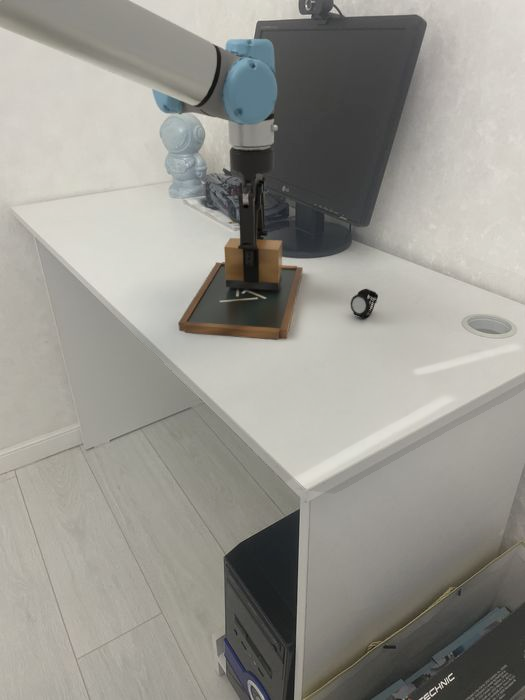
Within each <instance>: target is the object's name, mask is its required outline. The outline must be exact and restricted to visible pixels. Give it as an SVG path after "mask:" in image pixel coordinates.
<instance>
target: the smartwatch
mask: <svg viewBox="0 0 525 700" xmlns="http://www.w3.org/2000/svg"><path fill="white" fill-rule="evenodd" d="M378 298H379V294H378V293H377V292H376V291H374V290H371V289H368V288H363V289H361V290H359V291H358V292H357V294H355V295H354V296H353V297H352V298H351V300H350V309H351V311H352V314H353V315H354V316H356V317H358V318H360V319H368V318H369V317H370V316H371V314H372V313H373V311H374V308H375V306H376V304H377V303H378V300H379V299H378Z"/></svg>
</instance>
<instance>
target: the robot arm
mask: <svg viewBox="0 0 525 700" xmlns="http://www.w3.org/2000/svg"><path fill="white" fill-rule="evenodd" d="M0 28H1V29H4V30H7V31H9V32H11V33H14V34H16V35H19V36H21V37H24V38H26V39H29V40H31V41H34V42H36V43H38V44H41V45H43V46H46V47H48V48H51V49H53V50H55V51H58V52H60V53H62V54H63V53H64V55H68V56H70V57H73V58H75V59H77V60H80V61H82V62H85V63H87V64H90V65H92V66H95V67H97V68H99V69H102V70H105V71H106V72H109V73H112V74H114V75H116V76H119V77H122V78H125V80H128V81H131V82H134V83H137V84H139V85H141V86H143V87H146V88H149V89H151V91H152V95H153V98H154V101H155V104H156V106H157V107H158V109H159V110H160V111H161V112H162V113H165V114H167V115H169V114H178V115H183V114H189V113H190V114H191V113H194V114H199V115H203V116H207V117H211V118H217V119H221V120H225V121H227V122H228V123H227V125H228V143H229V145H231V147H230V149H229V168H230V170H231V171H232V173H236V174H240V175H241V176H242V178H241V179H242V180H241V181H242V182H239V186H238V187H239V188H238V189H239V190H238V191H239V192H238V194H237V200H238V212H239V213H238V214H239V215H238V217H239V238H240V245H239V246H238V249H243V272H244V282H257V283H258V282H259V259H258V248H257V239H260V240H265V239H264V237H268V232H269V231H268V230H266V227H267V225H266V180H267V178H266V176H265V175H264V174H268V173H271V172H272V171H274V169H275V149H274V147H273V146H272V145H273V144H274V143H275V132H277V131H278V130H279V127H278V125H277V124H274V122H275V105H276V102H277V99H278V83H277V79H276V72H277V71H276V60H275V59H276V58H275V48H274V44H273V43H272V41H271V40H270V39H267V38H235V39H234V38H230V39H228V40H227V41H226V43H225V48H223V47H221V46H219V45H216V44H214V43H213V42H211V41H209V40H207V39H205V38H203V37H201V36H199V35H198V34H196V33H194V32H192V31H190V30H188V29H186V28H184V27H182V26H180V25H178V24H176V23H174V22H172V21H170V20H169V19H167V18H164V17H162V16H160V15H158V14H157V13H155V12H153V11H151V10H149V9H147V8H145V7H143V6H141V5H140V4H137V3H135V2H133V1H131V0H0Z"/></svg>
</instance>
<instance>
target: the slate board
mask: <svg viewBox="0 0 525 700" xmlns="http://www.w3.org/2000/svg"><path fill="white" fill-rule="evenodd" d="M303 270H304V268H303V267H300V266H298V265H285V264H284V265H283V264H282V280H281V284H280V287H279V290H263V289H248V288H232V287H226V272H225V261H222V262H216V263H215V264H214V265H213V267H212V269H211V271H209V273H208V275H207V276H206V278H205V280H204V281H203V283H202V285H201V287H200V288H199V290H197V293H196V294H195V296H194V297H193V299H192V300H191V302H190V304H189V305H188V307H187V309H185V311H184V314H183V315H182V316H181V318H180V319H179V321H178V330H179V331H184V333H186V334H187V333H188V334H189V333H190V334H201V335H202V334H204V335H217V336H229V337H242V338H253V339H265V340H266V339H268V340H280V339H288V335H289V331H290V327H291V323H292V318H293V315H294V310H295V306H296V302H297V298H298V294H299V290H300V286H301V282H302V278H303V273H304V271H303Z"/></svg>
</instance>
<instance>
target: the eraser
mask: <svg viewBox="0 0 525 700" xmlns="http://www.w3.org/2000/svg"><path fill="white" fill-rule="evenodd" d="M239 245H240V237H230V238H228V241H227V242H226V244H225V245H224V248H223V249H224V262H225V272H226V287H232V288H248V289H263V290H279V287H280V284H281V280H282V265H283V240H281V239H280V240H278V239H264V240H260V239H257V248H258V259H259V282H258V283H257V282H244V272H243V249H238V246H239Z"/></svg>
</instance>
